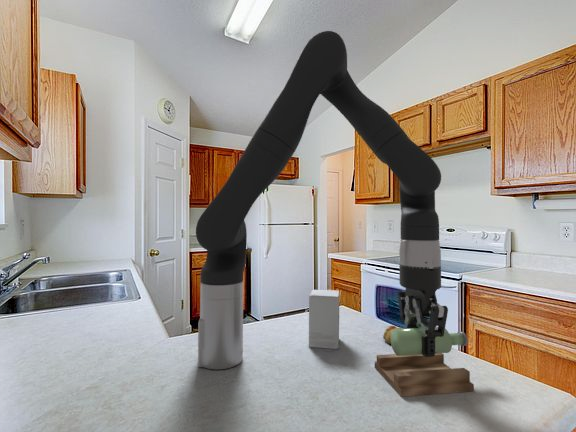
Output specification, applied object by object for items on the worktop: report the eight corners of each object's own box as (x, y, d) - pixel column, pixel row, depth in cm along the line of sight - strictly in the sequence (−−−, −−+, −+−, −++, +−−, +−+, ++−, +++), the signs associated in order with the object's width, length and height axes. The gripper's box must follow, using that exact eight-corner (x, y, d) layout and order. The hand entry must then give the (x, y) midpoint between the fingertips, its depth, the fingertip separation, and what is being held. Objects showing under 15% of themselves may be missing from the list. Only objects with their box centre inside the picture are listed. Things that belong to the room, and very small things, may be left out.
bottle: (402, 360, 57) (402, 334, 57) (390, 349, 62) (390, 325, 62) (472, 356, 59) (471, 330, 59) (455, 345, 64) (455, 322, 64)
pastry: (429, 348, 75) (429, 332, 75) (413, 355, 71) (413, 338, 72) (396, 336, 83) (395, 322, 83) (380, 342, 79) (379, 327, 79)
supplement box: (338, 349, 74) (338, 296, 74) (307, 347, 75) (308, 295, 76) (339, 338, 81) (339, 290, 81) (311, 336, 82) (311, 288, 83)
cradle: (400, 396, 54) (400, 379, 54) (374, 367, 65) (374, 353, 65) (473, 391, 56) (473, 374, 56) (436, 363, 67) (436, 349, 67)
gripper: (385, 259, 67) (385, 337, 67) (422, 268, 53) (423, 368, 53) (417, 258, 68) (417, 336, 68) (462, 267, 54) (463, 366, 54)
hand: (420, 349), depth 60 cm, fingers closed on bottle, 4 cm apart
